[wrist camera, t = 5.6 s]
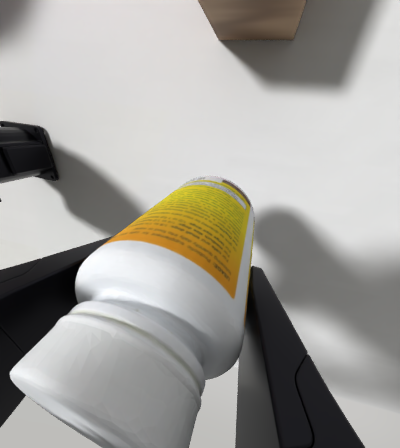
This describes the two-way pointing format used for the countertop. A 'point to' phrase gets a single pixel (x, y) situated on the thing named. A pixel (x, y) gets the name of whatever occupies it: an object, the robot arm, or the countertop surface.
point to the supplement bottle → (150, 322)
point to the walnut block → (254, 18)
